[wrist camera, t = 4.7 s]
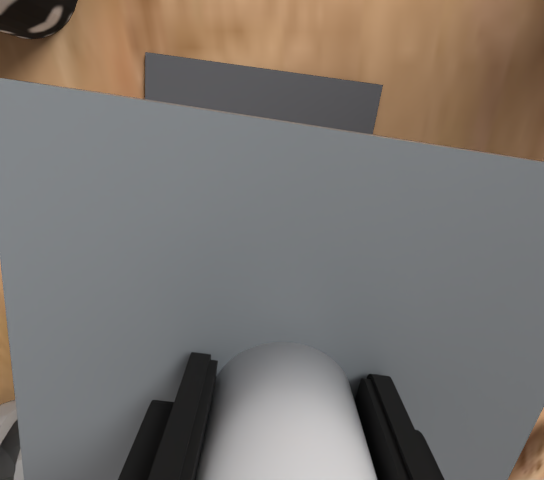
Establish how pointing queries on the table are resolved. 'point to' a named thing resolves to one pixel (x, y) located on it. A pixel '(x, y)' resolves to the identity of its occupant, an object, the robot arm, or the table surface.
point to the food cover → (262, 286)
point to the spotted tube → (34, 17)
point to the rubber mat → (262, 92)
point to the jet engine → (10, 443)
